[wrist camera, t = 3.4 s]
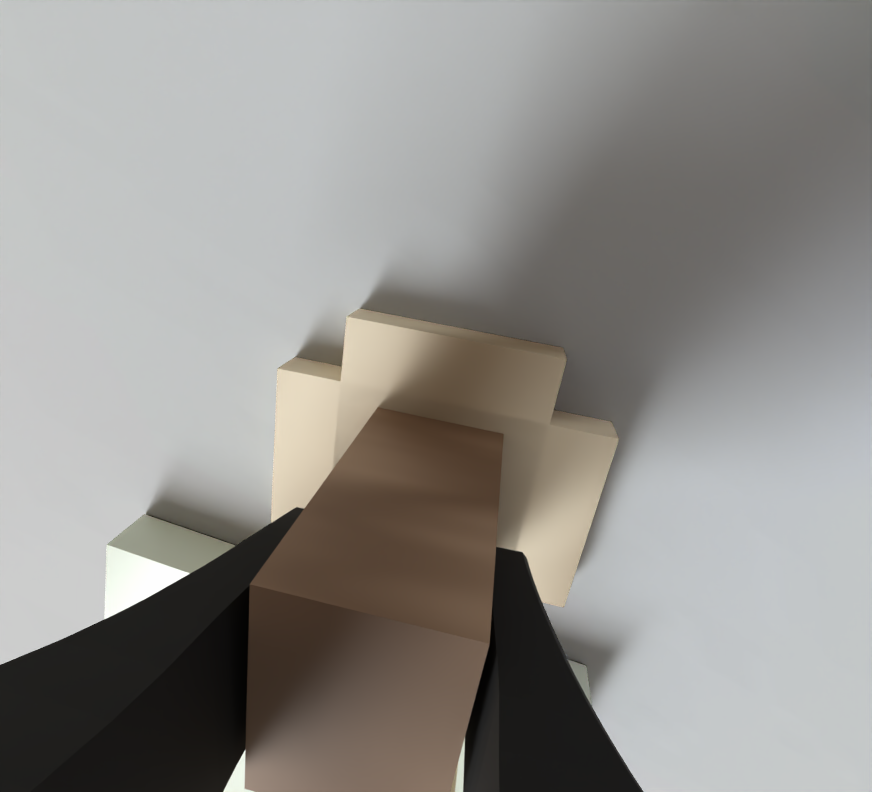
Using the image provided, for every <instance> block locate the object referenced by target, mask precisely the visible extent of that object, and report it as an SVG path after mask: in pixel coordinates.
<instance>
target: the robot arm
mask: <svg viewBox="0 0 872 792" xmlns="http://www.w3.org/2000/svg"><path fill="white" fill-rule="evenodd" d="M303 510H304V508H299V507H296V508H294V509H292V510H291V511H289V512H287V513H286V514H284V515H283V516H281V517H280V518H278V519H277V520H275V521H273V522H272V523H270V524H269V525H267V526H266V527H264V528H263V529H261V530H260V531H258V532H256V533H255V534H253V535H252V536H250V537H249V538H247V539H246V540H244V541H243V542H241V543H239V544H238V545H236V546H235V547H233V548H231V549H230V550H228V551H227V552H225V553H223V554H222V555H220V556H219V557H217V558H215V559H214V560H212V561H211V562H209V563H207V564H206V565H204V566H202V567H201V568H199V569H197V570H195V571H194V572H192V573H190V574H188V575H187V576H185V577H183V578H181V579H179V580H178V581H176V582H174V583H172V584H171V585H169V586H167V587H165V588H164V589H162V590H160V591H158V592H157V593H155V594H153V595H151V596H150V597H148V598H146V599H144V600H142V601H140V602H138V603H136V604H134V605H132V606H131V607H129V608H127V609H125V610H123V611H121V612H119V613H117V614H115V615H113V616H111V617H108V618H106V619H104V620H102V621H100V622H98V623H96V624H94V625H92V626H90V627H87V628H85V629H83V630H81V631H79V632H77V633H75V634H73V635H70V636H68V637H66V638H64V639H62V640H59V641H57V642H55V643H52V644H50V645H47V646H45V647H43V648H40V649H38V650H35V651H33V652H31V653H28V654H26V655H23V656H21V657H18V658H16V659H14V660H11V661H9V662H6V663H4V664H2V665H0V792H223V791H224V789H225V787H226V785H227V783H228V781H229V779H230V777H231V775H232V773H233V771H234V769H235V767H236V766H237V764H238V762H239V760H240V758H241V756H242V755H243V753H244V751H245V749H246V709H247V670H248V631H249V592H250V583H251V582H252V580H253V579H254V578H255V576H256V575H257V573H258V572H259V571H260V569H261V568H262V566H263V565H264V564H265V562H266V561H267V560H268V558H269V557H270V555H271V554H272V553H273V551H274V550H275V549H276V547H277V546H278V544H279V543H280V542H281V540H282V539H283V537H284V536H285V535H286V533H287V532H288V531H289V529H290V528H291V526H292V525H293V524H294V522H295V521H296V519H297V518H298V517H299V515H300V514H301V513H302V511H303ZM463 792H643V790H642V789H641V787H640V786H639V784H638V783H637V781H636V780H635V778H634V777H633V775H632V774H631V772H630V770H629V769H628V767H627V765H626V764H625V762H624V761H623V759H622V757H621V756H620V754H619V752H618V751H617V749H616V748H615V746H614V744H613V743H612V741H611V739H610V738H609V736H608V734H607V732H606V731H605V729H604V727H603V726H602V724H601V722H600V720H599V719H598V717H597V715H596V713H595V711H594V710H593V708H592V706H591V704H590V702H589V700H588V699H587V697H586V695H585V693H584V691H583V689H582V687H581V685H580V683H579V682H578V680H577V678H576V676H575V674H574V672H573V670H572V668H571V666H570V664H569V662H568V660H567V658H566V656H565V653H564V651H563V649H562V647H561V645H560V643H559V640H558V638H557V636H556V634H555V632H554V629H553V627H552V625H551V623H550V620H549V618H548V616H547V613H546V611H545V609H544V606H543V603H542V601H541V598H540V596H539V593H538V591H537V588H536V585H535V582H534V580H533V577H532V574H531V571H530V567H529V564H528V560H527V558H526V556H525V555H524V554H523V552H520V551H515V550H510V549H505V548H500V547H496V556H495V571H494V586H493V601H492V615H491V630H490V644H489V648H488V652H487V655H486V659H485V663H484V667H483V670H482V674H481V678H480V682H479V685H478V689H477V693H476V697H475V701H474V704H473V708H472V712H471V716H470V719H469V723H468V727H467V731H466V734H465V749H464V781H463Z"/></svg>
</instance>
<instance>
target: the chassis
mask: <svg viewBox="0 0 872 792" xmlns="http://www.w3.org/2000/svg"><path fill="white" fill-rule="evenodd" d="M235 546H236V545H233V544H230V543H227V542H224V541H221V540H218V539H215V538H212V537H209V536H206V535H204V534H201V533H198V532H195V531H192V530H189V529H186V528H183V527H180V526H177V525H174V524H172V523H169V522H166V521H163V520H160V519H157V518H154V517H151V516H148V515H145V514H144V515H143V516H141V517H140V518H139V519H138V520H136V521H135V522H134V523H133V524H132V525H130V526H129V527H128V528H127V529H125V530H124V531H123V532H122V533H120V534H119V535H118V536H117V537H115V538H114V539H113V540H112V541H110V542H109V543H108V544H107V550H106V585H105V619H106V618H108V617H111V616H113V615H115V614H117V613H119V612H121V611H123V610H125V609H127V608H129V607H131V606H132V605H134V604H136V603H138V602H140V601H142V600H144V599H146V598H148V597H150V596H151V595H153V594H155V593H157V592H158V591H160V590H162V589H164V588H165V587H167V586H169V585H171V584H172V583H174V582H176V581H178V580H179V579H181V578H183V577H185V576H187V575H188V574H190V573H192V572H194V571H195V570H197V569H199V568H201V567H202V566H204V565H206V564H207V563H209V562H211V561H212V560H214V559H215V558H217V557H219V556H220V555H222V554H223V553H225V552H227V551H228V550H230V549H231V548H233V547H235ZM567 660H568V659H567ZM568 662H569V664H570V666H571V668H572V670H573V672H574V674H575V676H576V678H577V680H578V682H579V683H580V685H581V687H582V689H583V691H584V693H585V695H586V697H587V699H588V700H589V702H590V704H591V706H592V702H591V695H590V688H589V681H588V675H587V668H586V666H585V665H582V664H579V663H576V662H574V661H571V660H568ZM464 749H465V738H464V742H463V746H462V749H461V753H460V757H459V761H458V764H457V768H456V772H455V776H454V779H453V783H452V787H451V791H450V792H463V781H464ZM244 788H245V751H244V753H243V755H242V756H241V758H240V760H239V762H238V764H237V766H236V767H235V769H234V771H233V773H232V775H231V777H230V779H229V781H228V783H227V785H226V787H225V789H224V791H223V792H254V791H251V790H247V789H244Z"/></svg>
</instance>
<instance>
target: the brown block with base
mask: <svg viewBox="0 0 872 792" xmlns="http://www.w3.org/2000/svg"><path fill="white" fill-rule="evenodd" d="M566 362H567V358H566V355H565V352H564V349H563V348H562V347H557V346H551V345H546V344H541V343H536V342H531V341H525V340H520V339H515V338H510V337H505V336H500V335H494V334H489V333H484V332H479V331H474V330H469V329H463V328H458V327H453V326H448V325H443V324H437V323H432V322H427V321H422V320H417V319H412V318H406V317H401V316H396V315H391V314H386V313H381V312H375V311H370V310H365V309H358V310H357V311H355V312H353V313H352V314H350V315H348V316H347V317H346V328H345V338H344V349H343V360H342V366H337V365H332V364H327V363H322V362H317V361H312V360H308V359H303V358H298V357H294V358H293V359H291V360H290V361H288V362H287V363H285V364H283V365H282V366H280V367H279V368H278V369H277V392H276V415H275V439H274V462H273V485H272V508H271V523H272V522H273V521H275V520H277V519H278V518H280V517H281V516H283V515H284V514H286V513H287V512H289V511H291V510H292V509H294V508H296V507H299V508H304V510H303V511H302V513H301V514H300V515H299V517H298V518H297V519H296V521H295V522H294V524H293V525H292V526H291V528H290V529H289V531H288V532H287V533H286V535H285V536H284V537H283V539H282V540H281V542H280V543H279V544H278V546H277V547H276V549H275V550H274V551H273V553H272V554H271V555H270V557H269V558H268V560H267V561H266V562H265V564H264V565H263V566H262V568H261V569H260V571H259V572H258V573H257V575H256V576H255V578H254V579H253V580H252V582H251V583H250V592H249V631H248V670H247V709H246V749H245V788H244V789H247V790H251V791H254V792H450V791H451V787H452V783H453V779H454V776H455V772H456V768H457V764H458V761H459V757H460V753H461V749H462V746H463V742H464V738H465V734H466V731H467V727H468V723H469V719H470V716H471V712H472V708H473V704H474V701H475V697H476V693H477V689H478V685H479V682H480V678H481V674H482V670H483V667H484V663H485V659H486V655H487V652H488V648H489V644H490V630H491V615H492V601H493V586H494V571H495V556H496V547H500V548H505V549H510V550H515V551H520V552H523V554H524V555H525V556H526V558H527V560H528V564H529V567H530V571H531V574H532V577H533V580H534V582H535V585H536V588H537V591H538V593H539V596H540V598H541V601H542V602H543V603H547V604H551V605H555V606H560V607H564V606H565V603H566V600H567V596H568V593H569V590H570V587H571V584H572V581H573V578H574V575H575V572H576V569H577V566H578V563H579V560H580V557H581V554H582V551H583V548H584V545H585V542H586V539H587V536H588V533H589V529H590V526H591V523H592V520H593V517H594V514H595V511H596V508H597V505H598V502H599V499H600V496H601V493H602V490H603V487H604V484H605V481H606V478H607V475H608V472H609V469H610V466H611V462H612V459H613V456H614V453H615V450H616V447H617V444H618V441H619V438H618V435H617V433H616V431H615V429H614V426H613V424H612V422H611V421H606V420H601V419H596V418H591V417H586V416H581V415H577V414H572V413H567V412H562V411H557V410H554V406H555V403H556V399H557V395H558V392H559V388H560V384H561V380H562V377H563V373H564V369H565V365H566Z"/></svg>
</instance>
